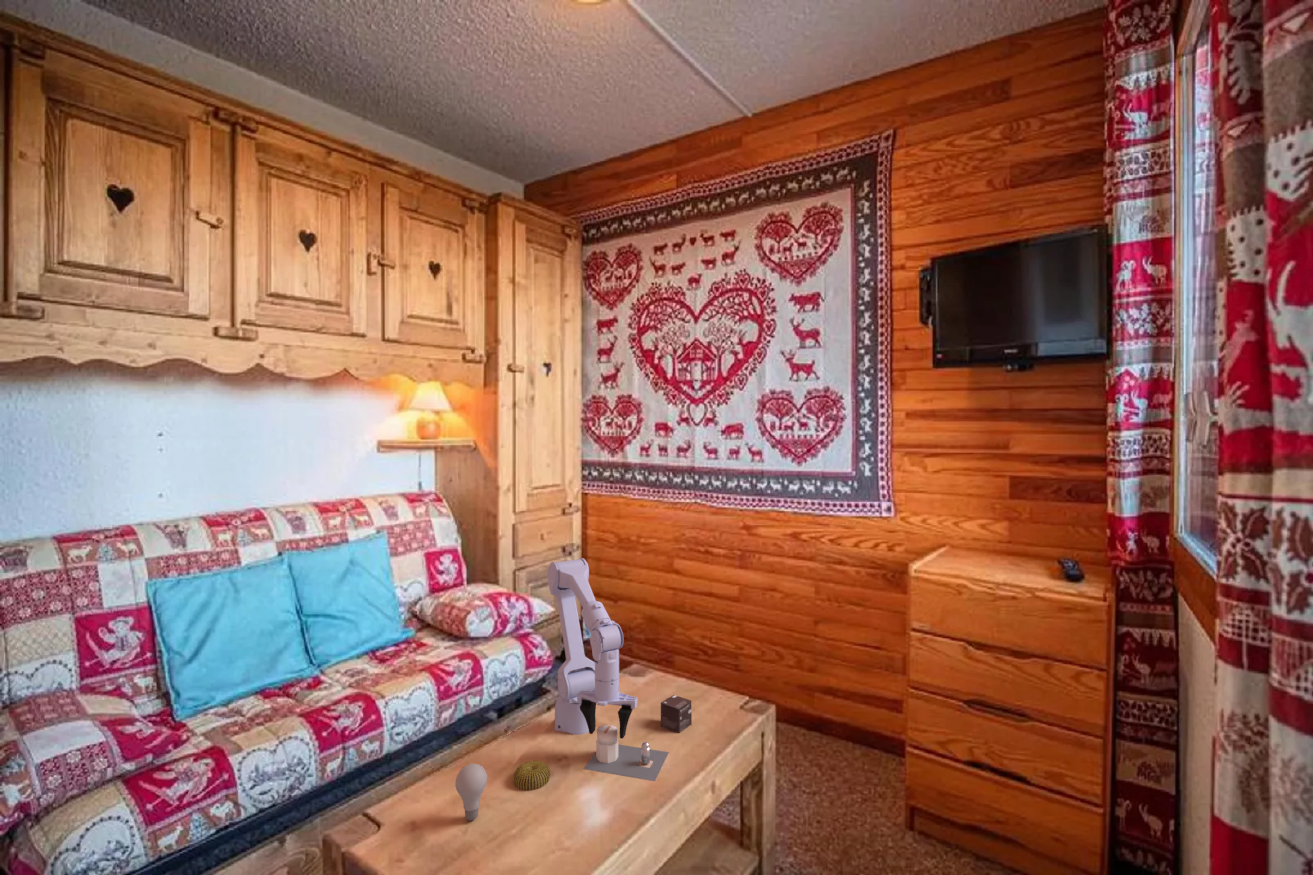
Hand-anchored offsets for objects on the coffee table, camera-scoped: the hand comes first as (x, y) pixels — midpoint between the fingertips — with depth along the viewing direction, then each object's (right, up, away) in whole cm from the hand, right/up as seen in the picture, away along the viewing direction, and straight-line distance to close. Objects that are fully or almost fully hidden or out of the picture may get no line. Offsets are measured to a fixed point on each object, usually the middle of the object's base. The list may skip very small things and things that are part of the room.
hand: (607, 734), depth 141 cm
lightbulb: (-26, -7, -20) cm, 34 cm away
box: (+17, -6, +15) cm, 24 cm away
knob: (0, -6, 0) cm, 6 cm away
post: (+9, -5, -2) cm, 11 cm away
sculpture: (-16, -7, -9) cm, 20 cm away
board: (+5, -7, -1) cm, 8 cm away
